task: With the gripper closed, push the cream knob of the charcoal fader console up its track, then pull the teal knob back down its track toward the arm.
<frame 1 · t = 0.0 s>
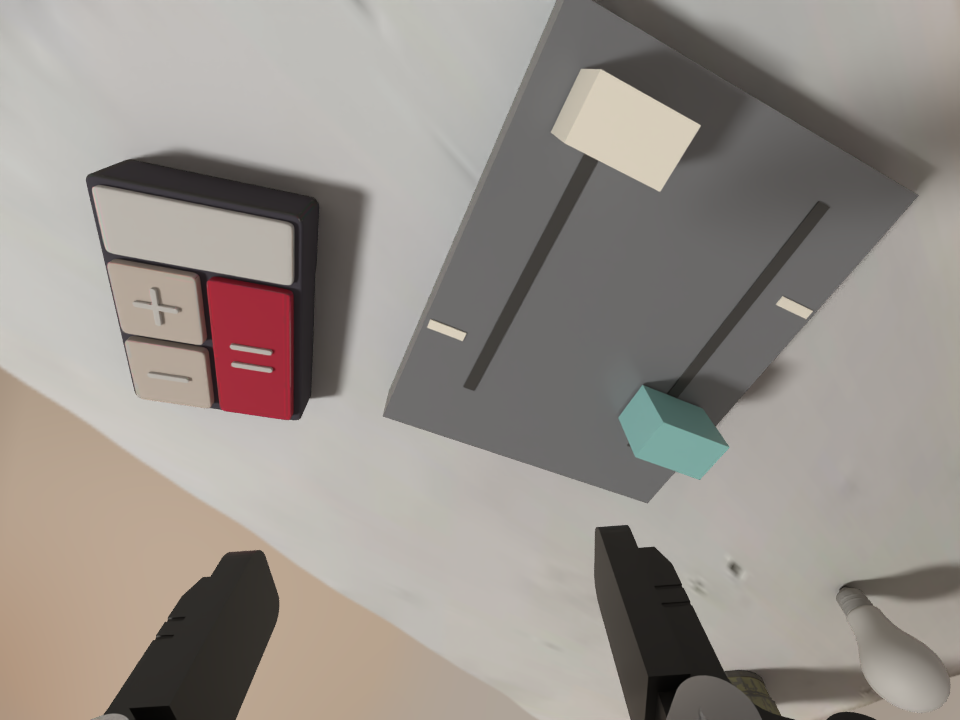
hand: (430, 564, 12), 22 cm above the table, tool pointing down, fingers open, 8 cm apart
console: (607, 298, 33), on the table
fader teal: (670, 431, 32), point 5 cm above the table, slide at 14.0 cm
lightbulb: (842, 587, 50), on the table
thermos: (727, 686, 61), on the table
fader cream: (619, 129, 23), point 5 cm above the table, slide at 0.0 cm
calculator: (233, 292, 33), on the table
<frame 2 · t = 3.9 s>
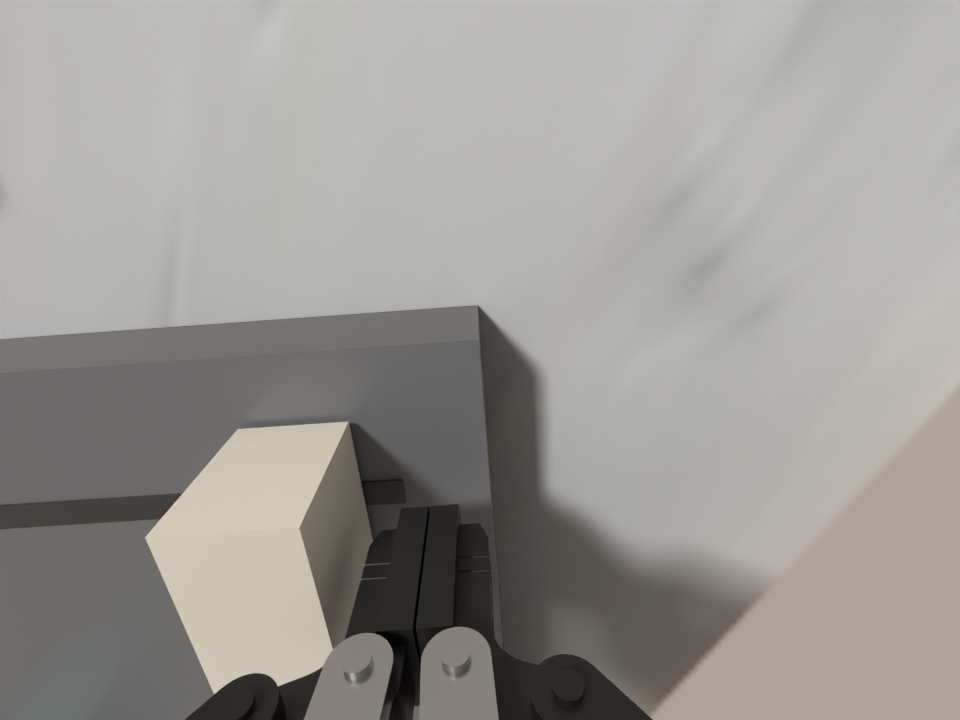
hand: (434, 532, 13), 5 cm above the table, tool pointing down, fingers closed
console: (176, 589, 20), on the table
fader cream: (287, 552, 12), point 5 cm above the table, slide at 1.1 cm, touching gripper
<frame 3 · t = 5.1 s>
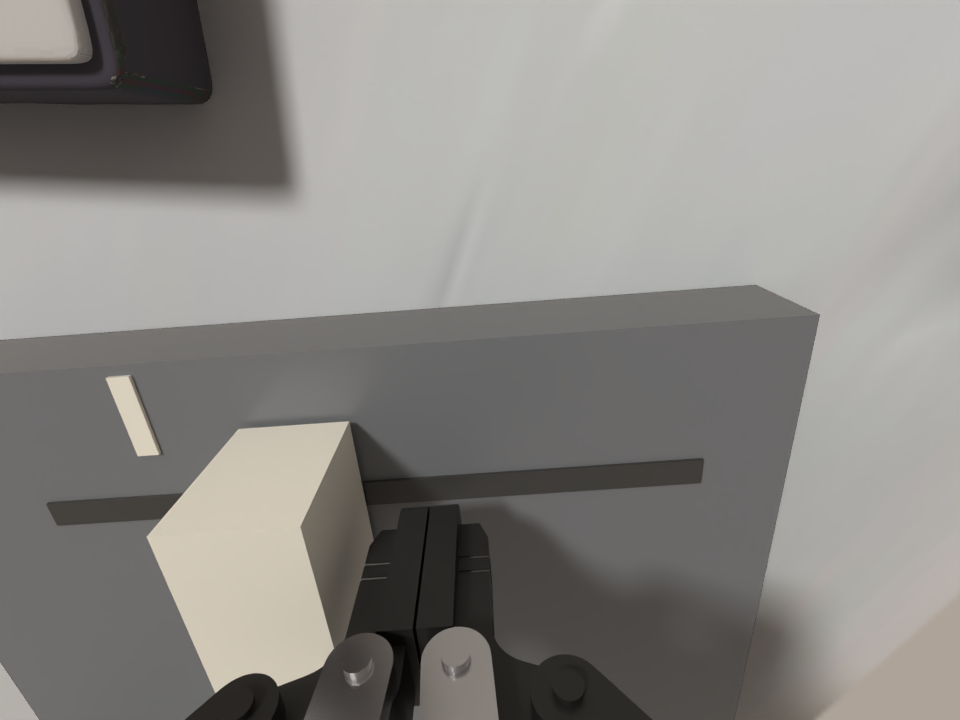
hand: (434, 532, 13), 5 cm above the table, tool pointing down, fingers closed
console: (388, 576, 20), on the table
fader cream: (288, 552, 12), point 5 cm above the table, slide at 9.7 cm, touching gripper
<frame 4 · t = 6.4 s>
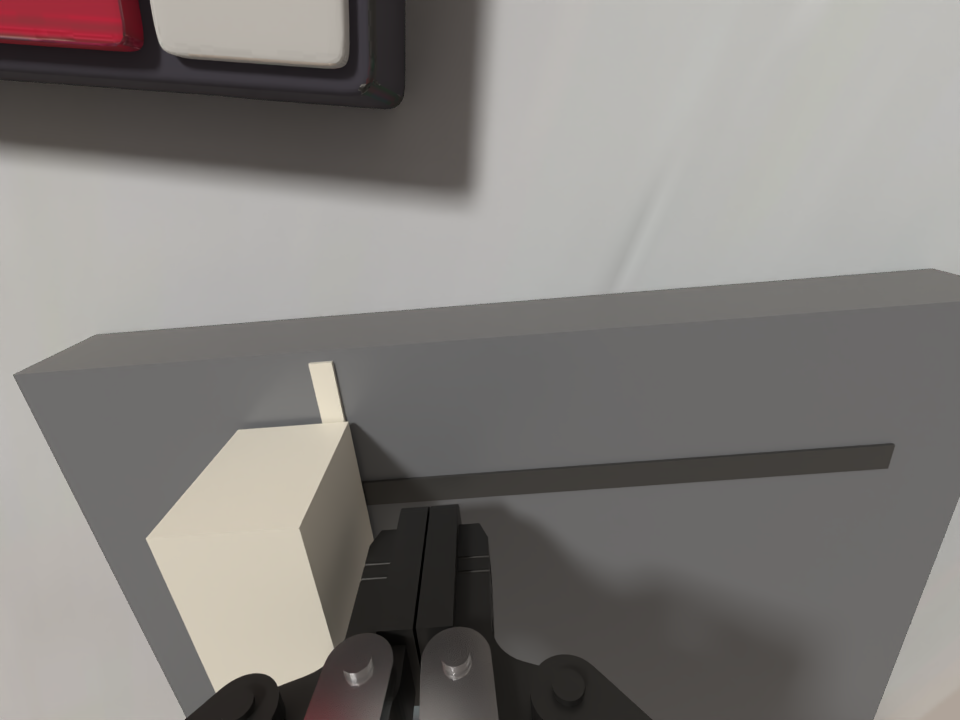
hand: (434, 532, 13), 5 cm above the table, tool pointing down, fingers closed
console: (522, 567, 19), on the table
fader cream: (288, 552, 12), point 5 cm above the table, slide at 15.1 cm, touching gripper
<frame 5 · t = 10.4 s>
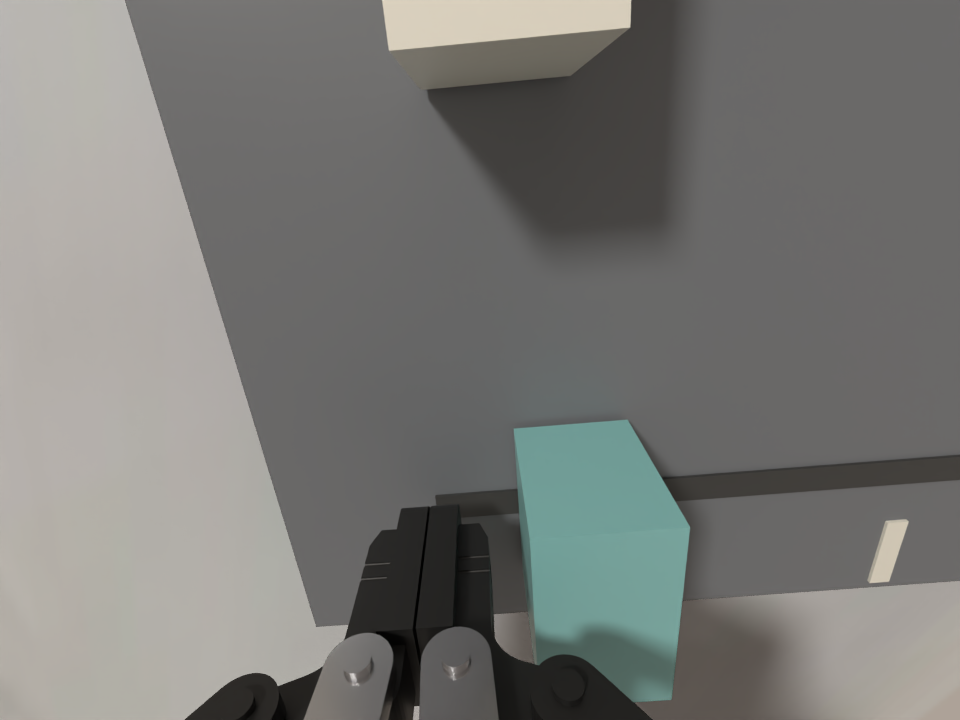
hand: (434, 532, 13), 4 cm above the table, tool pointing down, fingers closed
console: (709, 235, 14), on the table
fader teal: (586, 554, 12), point 5 cm above the table, slide at 13.6 cm, touching gripper
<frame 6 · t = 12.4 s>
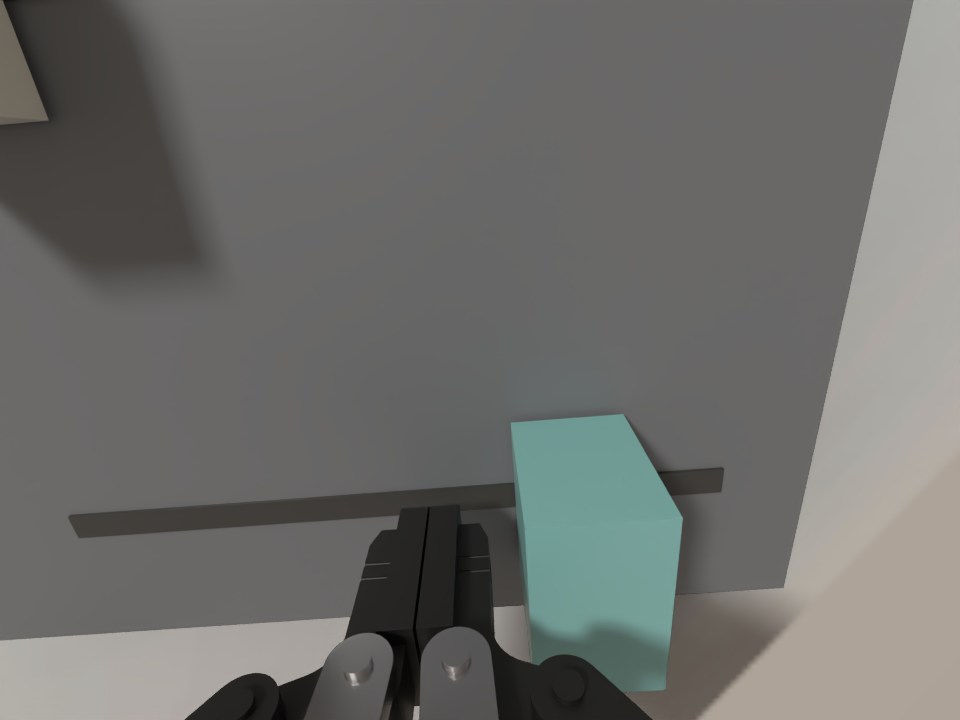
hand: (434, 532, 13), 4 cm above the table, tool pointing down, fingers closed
console: (342, 262, 14), on the table
fader teal: (582, 546, 12), point 5 cm above the table, slide at 2.9 cm, touching gripper
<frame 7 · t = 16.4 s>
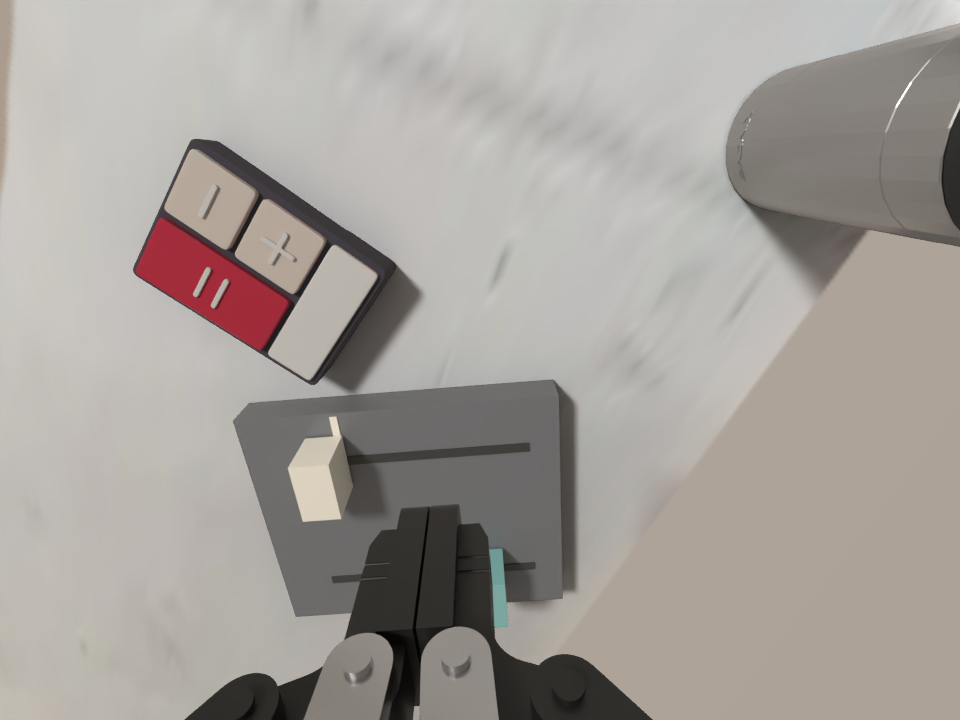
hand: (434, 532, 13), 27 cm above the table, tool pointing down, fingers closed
console: (417, 496, 46), on the table
fader teal: (488, 588, 43), point 5 cm above the table, slide at 2.9 cm
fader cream: (322, 477, 38), point 5 cm above the table, slide at 15.1 cm
calculator: (278, 263, 38), on the table
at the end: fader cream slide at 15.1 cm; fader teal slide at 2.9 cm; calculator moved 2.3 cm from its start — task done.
